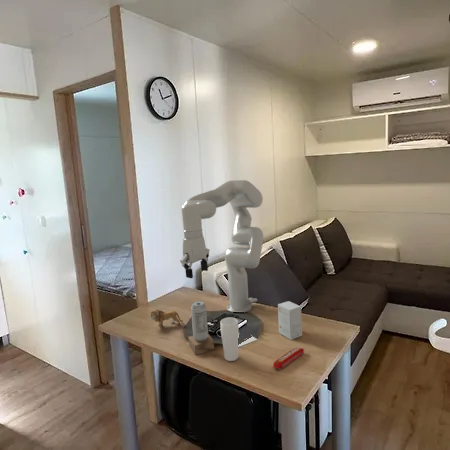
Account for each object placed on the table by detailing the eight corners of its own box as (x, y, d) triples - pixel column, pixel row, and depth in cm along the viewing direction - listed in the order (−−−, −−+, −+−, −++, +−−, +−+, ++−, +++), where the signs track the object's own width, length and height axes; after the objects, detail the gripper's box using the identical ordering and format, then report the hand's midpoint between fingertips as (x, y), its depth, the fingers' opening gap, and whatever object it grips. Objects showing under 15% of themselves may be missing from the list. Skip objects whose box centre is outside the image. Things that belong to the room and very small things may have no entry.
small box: (302, 335, 152) (301, 306, 149) (290, 340, 149) (289, 310, 146) (289, 328, 159) (289, 300, 156) (278, 332, 156) (277, 304, 153)
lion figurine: (152, 331, 165) (150, 312, 163) (150, 326, 170) (148, 308, 168) (184, 324, 170) (182, 306, 168) (181, 320, 175) (179, 302, 173)
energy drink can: (205, 333, 151) (203, 299, 148) (210, 339, 145) (207, 304, 142) (191, 336, 149) (188, 302, 146) (195, 343, 143) (192, 307, 140)
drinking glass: (218, 358, 138) (216, 321, 136) (231, 351, 143) (229, 315, 140) (231, 365, 134) (229, 326, 131) (244, 357, 138) (241, 320, 136)
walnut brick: (207, 341, 152) (206, 332, 152) (214, 349, 145) (213, 340, 144) (189, 345, 149) (188, 336, 149) (195, 354, 142) (194, 345, 141)
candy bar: (297, 351, 141) (297, 343, 140) (305, 354, 138) (305, 347, 138) (271, 369, 130) (270, 361, 129) (279, 373, 127) (279, 365, 127)
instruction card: (244, 332, 158) (244, 331, 158) (257, 339, 151) (257, 339, 151) (221, 340, 152) (221, 340, 152) (233, 349, 144) (233, 348, 144)
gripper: (199, 228, 157) (203, 266, 160) (171, 238, 143) (176, 279, 146) (213, 229, 152) (217, 268, 156) (186, 239, 139) (190, 282, 142)
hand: (197, 273), depth 151 cm, fingers open, 9 cm apart
